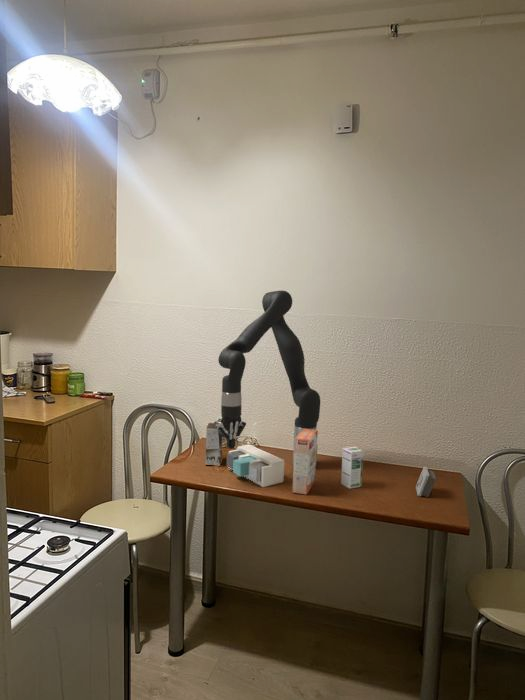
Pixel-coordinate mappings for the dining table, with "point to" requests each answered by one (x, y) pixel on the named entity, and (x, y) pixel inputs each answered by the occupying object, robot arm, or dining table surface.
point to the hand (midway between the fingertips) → (230, 448)
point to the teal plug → (242, 466)
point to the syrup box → (352, 467)
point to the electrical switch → (425, 482)
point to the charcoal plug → (233, 458)
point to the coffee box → (213, 445)
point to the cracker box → (304, 461)
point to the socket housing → (268, 473)
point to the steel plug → (256, 471)
